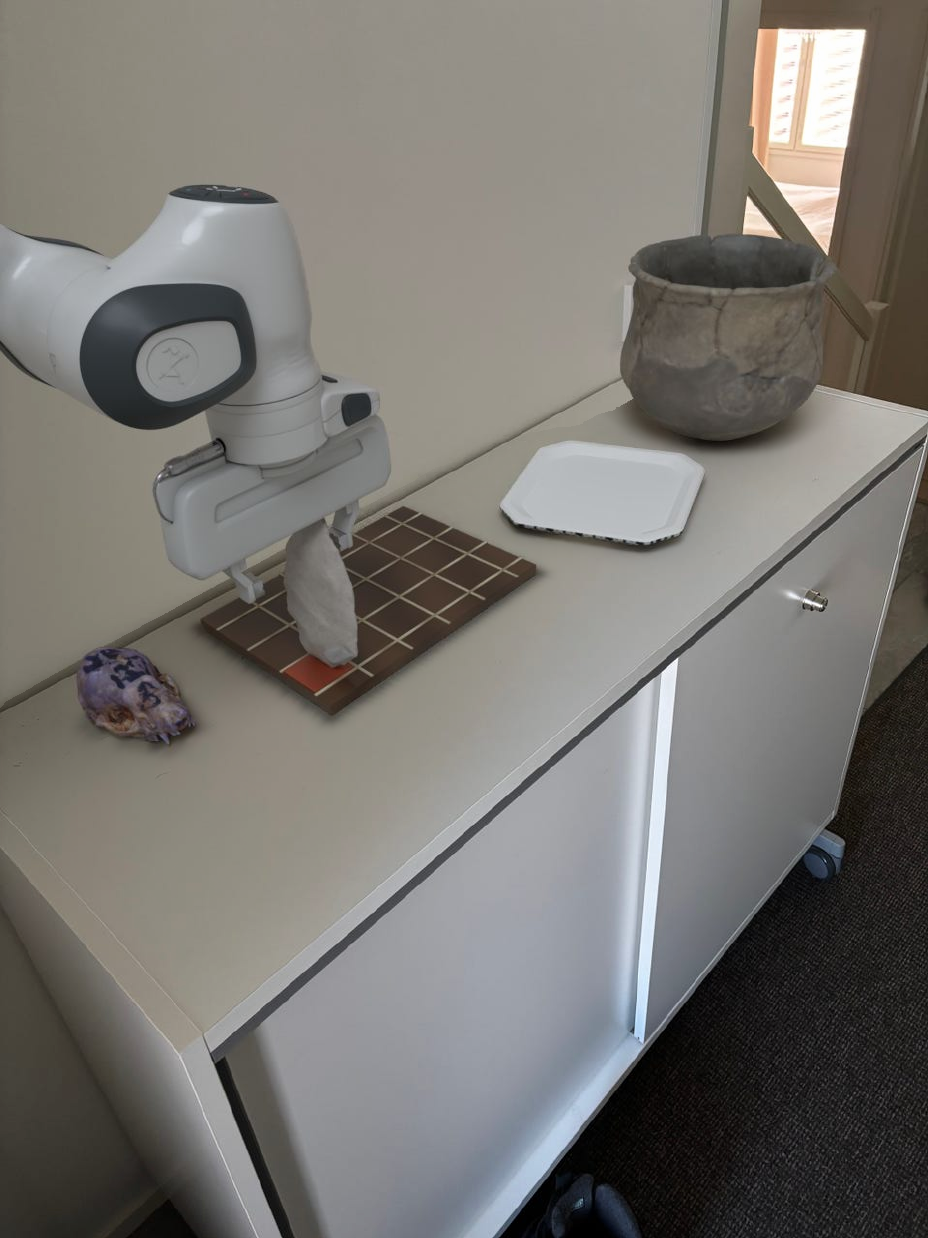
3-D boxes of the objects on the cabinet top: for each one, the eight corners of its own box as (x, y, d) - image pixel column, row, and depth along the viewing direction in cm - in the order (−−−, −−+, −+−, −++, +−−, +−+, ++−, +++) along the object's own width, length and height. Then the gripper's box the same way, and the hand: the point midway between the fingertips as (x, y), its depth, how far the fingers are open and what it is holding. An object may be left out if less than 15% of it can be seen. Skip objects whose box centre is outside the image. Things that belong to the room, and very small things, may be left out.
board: (331, 715, 80) (329, 704, 80) (202, 628, 92) (199, 617, 91) (536, 574, 96) (536, 562, 95) (404, 514, 107) (403, 503, 107)
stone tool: (283, 653, 86) (251, 513, 77) (306, 634, 88) (278, 496, 79) (359, 686, 81) (335, 541, 72) (382, 665, 83) (361, 523, 74)
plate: (709, 472, 111) (710, 455, 110) (674, 563, 96) (676, 545, 95) (545, 452, 118) (545, 436, 117) (489, 533, 103) (488, 516, 102)
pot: (844, 422, 120) (879, 251, 107) (739, 488, 108) (764, 305, 95) (687, 374, 135) (700, 220, 122) (579, 427, 123) (581, 263, 110)
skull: (218, 720, 80) (191, 670, 76) (143, 777, 76) (111, 728, 73) (151, 667, 87) (123, 619, 83) (80, 716, 84) (47, 669, 80)
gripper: (171, 483, 61) (216, 646, 69) (394, 384, 73) (410, 534, 81) (122, 457, 65) (170, 615, 73) (342, 367, 76) (362, 512, 84)
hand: (298, 572), depth 77 cm, fingers open, 8 cm apart
